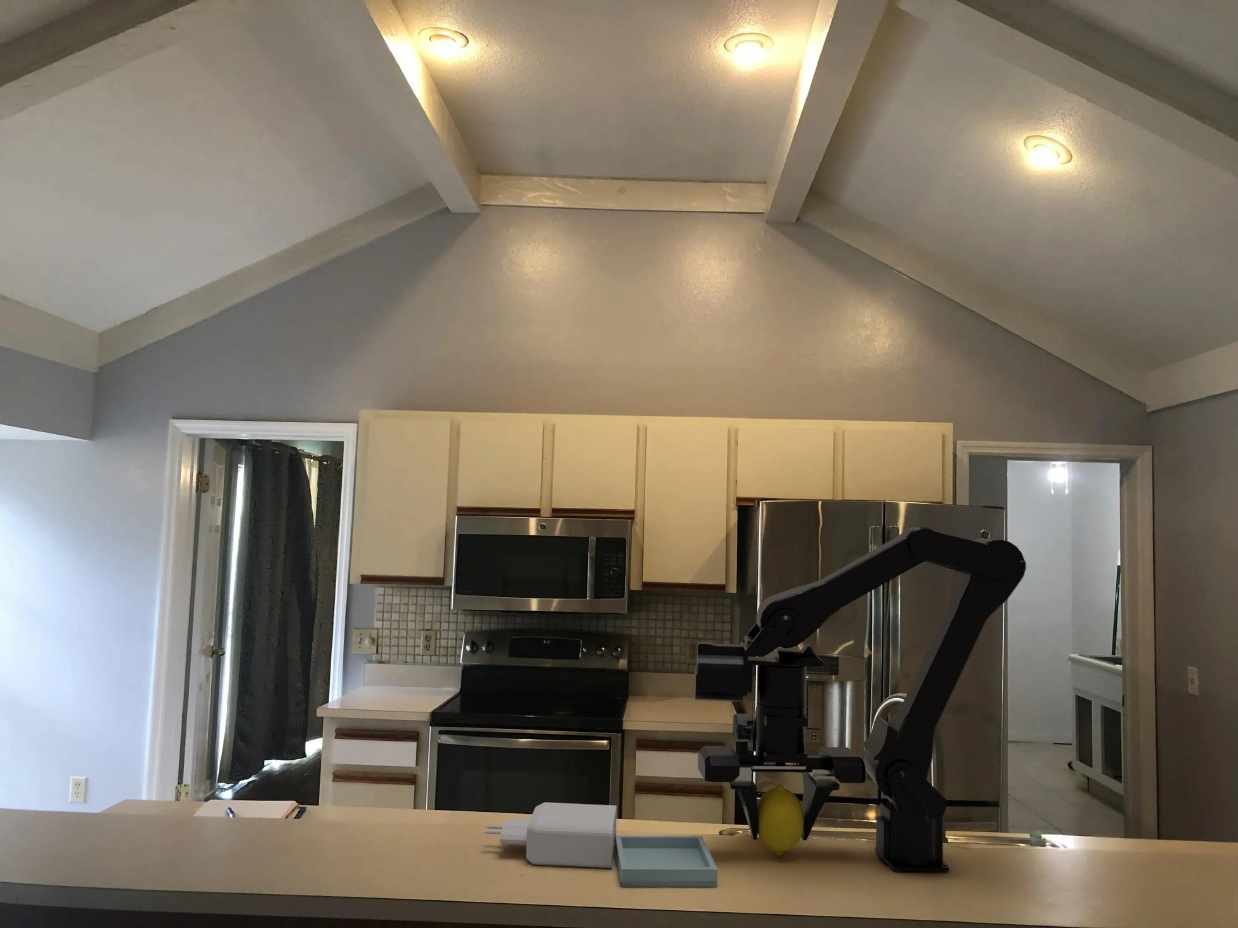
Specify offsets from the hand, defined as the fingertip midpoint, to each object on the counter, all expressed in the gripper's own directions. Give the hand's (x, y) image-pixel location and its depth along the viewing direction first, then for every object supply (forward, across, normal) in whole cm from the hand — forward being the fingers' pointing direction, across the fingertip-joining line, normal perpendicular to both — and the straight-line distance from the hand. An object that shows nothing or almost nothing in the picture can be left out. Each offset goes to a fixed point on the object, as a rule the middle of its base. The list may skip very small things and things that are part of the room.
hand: (779, 838), depth 104 cm
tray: (+2, +14, +4) cm, 15 cm away
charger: (+2, +27, -1) cm, 27 cm away
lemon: (+2, 0, 0) cm, 2 cm away
